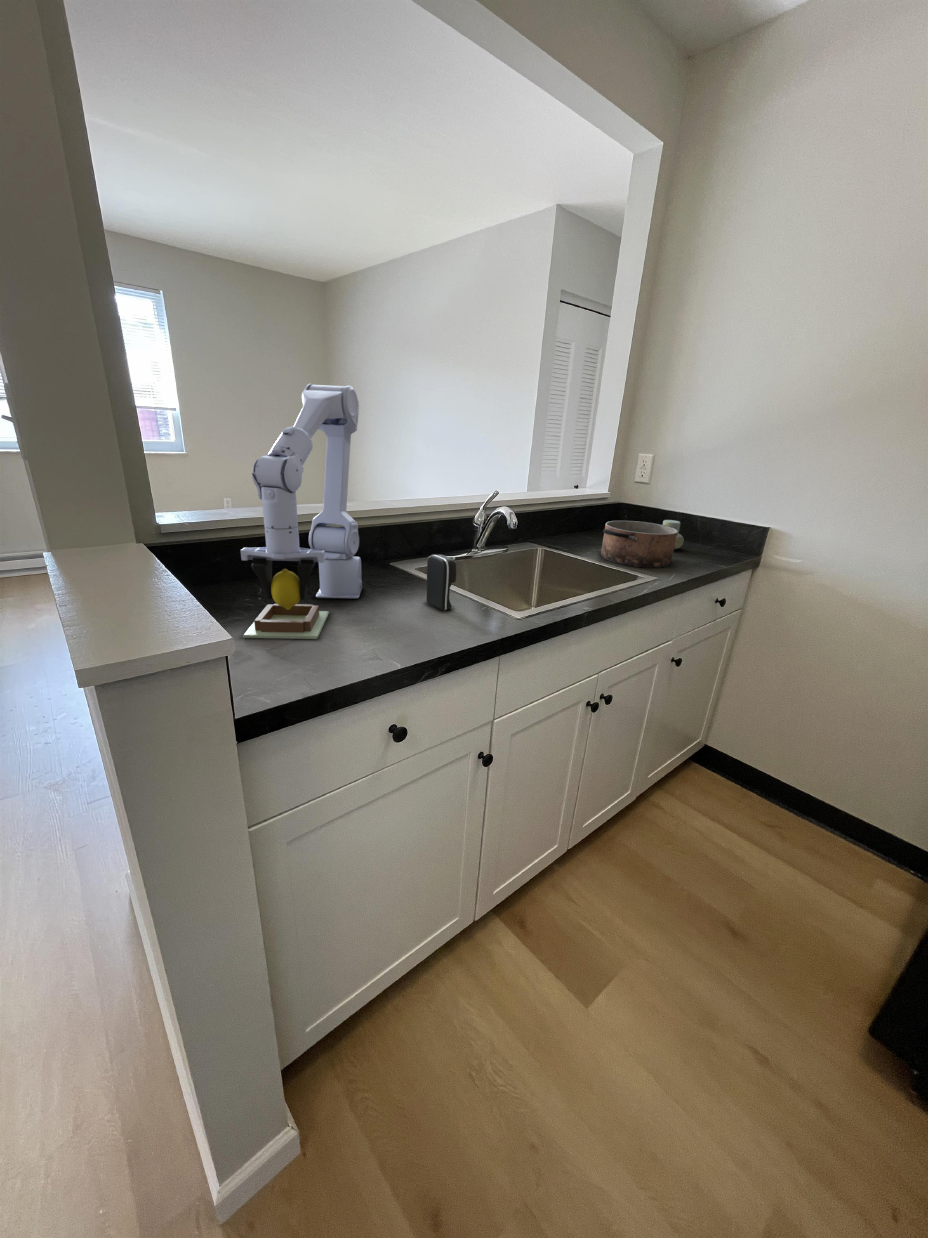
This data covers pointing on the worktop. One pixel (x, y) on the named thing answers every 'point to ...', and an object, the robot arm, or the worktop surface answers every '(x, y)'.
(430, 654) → the worktop surface
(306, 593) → the robot arm
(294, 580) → the lemon
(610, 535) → the cooking pot
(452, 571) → the battery charger
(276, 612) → the cradle pad
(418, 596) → the worktop surface
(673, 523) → the air freshener
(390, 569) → the worktop surface
